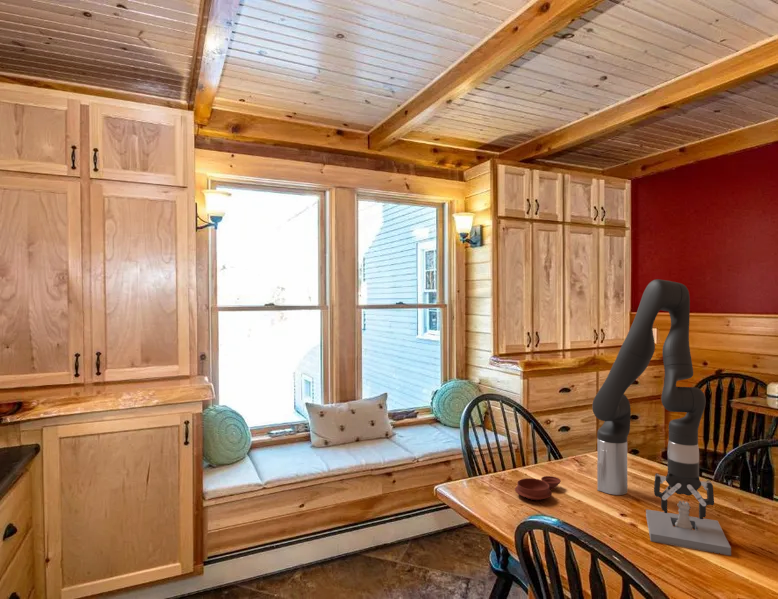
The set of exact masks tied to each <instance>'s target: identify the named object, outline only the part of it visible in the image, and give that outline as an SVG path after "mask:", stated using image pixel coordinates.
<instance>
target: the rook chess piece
mask: <svg viewBox="0 0 778 599" xmlns="http://www.w3.org/2000/svg"><path fill="white" fill-rule="evenodd" d="M676 505H677V507H678V510H677V511H678V514H679V516H678V520H677V522H675V525H674V527H679V528H685V529H691V530H694V528H693V527H692V525H691V523H690V520H689V516H690V509H691V505H690V503H689V502H688V501H686V500H678V503H677V504H676Z"/></svg>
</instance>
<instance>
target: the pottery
mask: <svg viewBox="0 0 778 599" xmlns="http://www.w3.org/2000/svg"><path fill="white" fill-rule="evenodd" d="M516 483H517V486H515V488H514V491H515V493H516V494H517V495H519V496H521V497H523V498H525V497H526V498H528V499H531V500H530V501H532V500H540V501H542V500H543V499H548V498H550V497H551V496H552V495H553V492H552V490H550V489H554V490H556V489H555V488H556V487H558V486H559V485H560V484H561V479H560V478H559V477H556V476H552V475H551V476H549V475H546V476H542V477H541V479H538V478H531V477H529V478H528V477H527V478H522V479H518V480H517V482H516ZM526 498H525V499H526ZM528 499H527V500H528ZM541 499H542V500H541Z"/></svg>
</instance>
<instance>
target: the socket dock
mask: <svg viewBox="0 0 778 599" xmlns="http://www.w3.org/2000/svg"><path fill="white" fill-rule="evenodd" d="M678 516H679V513H672V512H667V513H664V511H659V510H654V509H653V510H652V509H645V518H646V522H647V523H646V524H647V528H648V534H649V539H650V540H649V541H650V542H654V543H659V544H665V545H669V546H670V545H671V546H675V547H676V546H677V547H680V548H686V549H691V548H692V550H697V549H698V551H702V552H709V553H713V552H714V553H715V554H719V553H720V554H719V555H725V556H732V546H731V545H730V543H729V541H728V539H727V537H726V535H725V533H724V531H723V529H722V527H721V525H720V523H719V521H718V520H715V519H709V518H705V517H703V519H700V518H699V516H698V517H697V516H690V515H689V520H690V523H691V525H692V527H693V529H692V530H691V529H685V528H679V527H675V526H676V525H675V522H677V520H678Z"/></svg>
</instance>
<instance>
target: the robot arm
mask: <svg viewBox="0 0 778 599" xmlns="http://www.w3.org/2000/svg"><path fill="white" fill-rule="evenodd" d="M690 303H691V299H690V291H689V289H688V287H687V286H686V285H685V284H683V283H681V282H676V281H671V280H665V279H659V278H657V279H653V280H651V281H650V282H649V283H648V284H647V285H646V287H645V289H644V291H643V293H642V296H641V298H640V302H639V305H638V308H637V311H636V313H635V316H634V319H633V320H632V321H633V322H632V324H631V326H630V327H629V330H628V333H627V335H626V337H625V338H624V341H623V342H622V345H621V346H620V348H619V351H618V353H617V355H616V358H615V360H614V362H613V363H612V366H611V368H610V370H609V372H608V375H607V377H606V378H605V380H604V382H603V384H602V385H601V387H600V389H599V390H598V391H597V393H596V395H595V396H594V399H593V400H592V406H591V407H592V412H593V414H594V416H595V418H597V419H598V420H600V421H603V424H602V425H601V426H600V427H599V428H598V429H597V434H596V435H597V437H596V438H597V461H596V462H597V464H596V465H597V466H596V467H597V468H596V469H597V479H596V480H597V481H596V482H597V486H596V487H597V488H596V489H597V491H598V492H599V491H600V492H603V493H605V494H610V495H616V496H621V495H623V496H624V495H626V494H627V493H628V436H629V434H630V431H631V414H632V413H631V403H630V400H629V398H628V397H627V396H626V395H625V392H627V390H628V388H629V387H630V386H631V385H632V384H633V383H634V382H636V380H638V378H639V377H640V376H641V375H642V374H643V373H644V372H645V371H646V369H647V368H648V366H649V365H650V362H651V360H652V358H653V357H654V354H655V350H656V344H655V336H654V330H653V329H654V322H655V320H656V318H657V316H658V315H659V312H660V311H663V312H668V314H669V319H670V329H669V331H668V333H667V335H666V338H665V340H664V342H663V345H662V361H663V367H664V378H663V379H664V380H663V388H662V392H661V400H660V401H661V404H662V406H663V407H664V409H665V410H667V411H668V412H673V413H686V414H684V415H685V416H684V417H680V418H676V419H671V420H670V421H669V422H668V444H667V454H666V455H667V474H666V476H665V475H661V474H659V473H657V472H656V473H655V474H654V484H653V486H654V487H653V494H654V496H655V497H658V498H659V499H660V502H661V503H660V507H661V512H664V513H668V499H669V498H670V497H672V495H673V494H675V493H676V495H685V496H694V498H695V499H696V500H697V501H698V518H700V519H703V518H706V516H707V506H714V505H715V498H714V485H713V483H712V482H711V481H710V480H709V479H708V480H706V481H703V480H700V449H699V428H700V424H701V419H702V418H703V417H702V416H703V414H704V411H705V408H706V406H707V405H706V404H707V401H706V400H707V398H706V395H705V393H704V391H702V389H700V388H699V387H695V386H694V387H693V386H677V382H678V381H683V380H688V379H691V378H692V377H693V376H694V368H693V362H692V355H691V348H690V317H691V316H690V313H691V312H690V309H691V308H690V307H691V305H690ZM664 481H666V483H667V484H668V486H666V488H665V489H664V490H663V491H661V484H663V483H664ZM701 487H703V489H704V490H705V491H706V498H703V496H702V495H701V494H700V492H699V491H698V490H699V489H700V488H701Z"/></svg>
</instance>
